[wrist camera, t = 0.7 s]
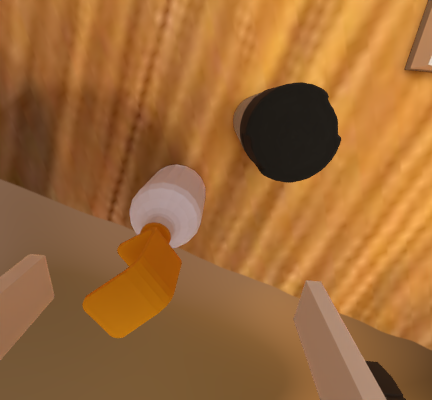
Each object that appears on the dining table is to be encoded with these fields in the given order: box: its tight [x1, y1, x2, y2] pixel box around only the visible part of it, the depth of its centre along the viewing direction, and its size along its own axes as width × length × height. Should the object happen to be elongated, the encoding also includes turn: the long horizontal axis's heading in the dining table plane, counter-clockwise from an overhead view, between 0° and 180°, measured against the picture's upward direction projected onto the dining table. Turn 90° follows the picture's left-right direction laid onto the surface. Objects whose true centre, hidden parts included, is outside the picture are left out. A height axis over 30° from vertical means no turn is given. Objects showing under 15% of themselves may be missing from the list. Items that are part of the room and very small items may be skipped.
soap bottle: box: [82, 164, 205, 338], centre depth 27 cm, size 9×9×25 cm
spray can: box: [233, 83, 341, 182], centre depth 24 cm, size 7×7×20 cm
